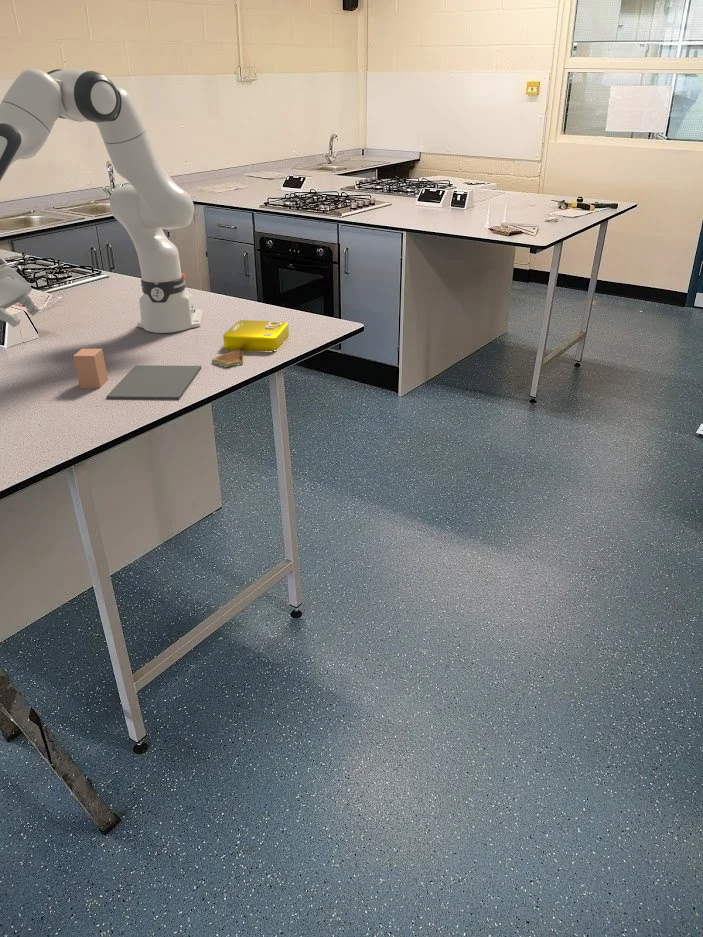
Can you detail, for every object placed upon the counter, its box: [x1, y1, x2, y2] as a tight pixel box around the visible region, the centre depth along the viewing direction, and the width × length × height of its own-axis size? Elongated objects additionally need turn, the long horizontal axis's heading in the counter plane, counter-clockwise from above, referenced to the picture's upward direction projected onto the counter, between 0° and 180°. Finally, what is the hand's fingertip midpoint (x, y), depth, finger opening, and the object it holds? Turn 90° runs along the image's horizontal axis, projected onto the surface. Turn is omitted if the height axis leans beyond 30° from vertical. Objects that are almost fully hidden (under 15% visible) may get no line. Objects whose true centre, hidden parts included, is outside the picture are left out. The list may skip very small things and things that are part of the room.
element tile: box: [222, 319, 290, 352], centre depth 198 cm, size 15×15×5 cm
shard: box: [211, 348, 244, 368], centre depth 187 cm, size 11×8×2 cm
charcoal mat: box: [106, 364, 202, 400], centre depth 174 cm, size 20×17×1 cm
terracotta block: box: [73, 348, 109, 389], centre depth 172 cm, size 5×5×8 cm
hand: (27, 318), depth 167 cm, fingers open, 8 cm apart
